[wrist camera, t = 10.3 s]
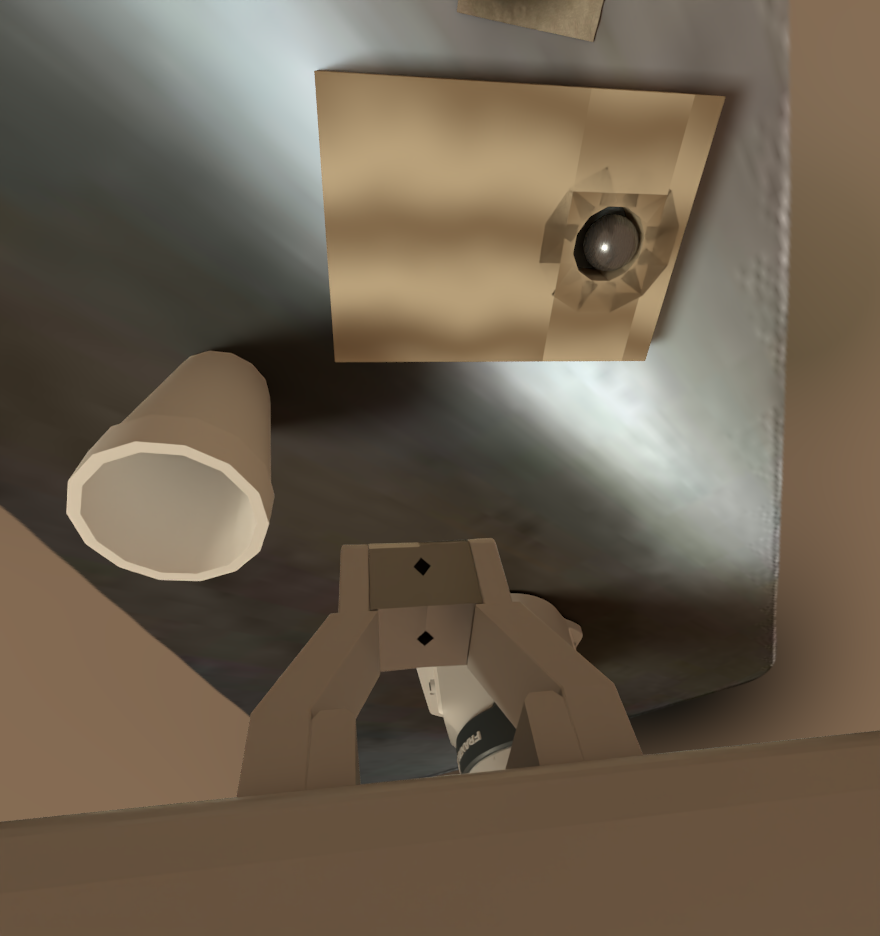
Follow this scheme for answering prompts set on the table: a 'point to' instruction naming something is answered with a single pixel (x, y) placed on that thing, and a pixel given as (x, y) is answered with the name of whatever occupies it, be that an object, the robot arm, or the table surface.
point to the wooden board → (499, 214)
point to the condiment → (540, 14)
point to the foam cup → (182, 475)
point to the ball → (610, 242)
